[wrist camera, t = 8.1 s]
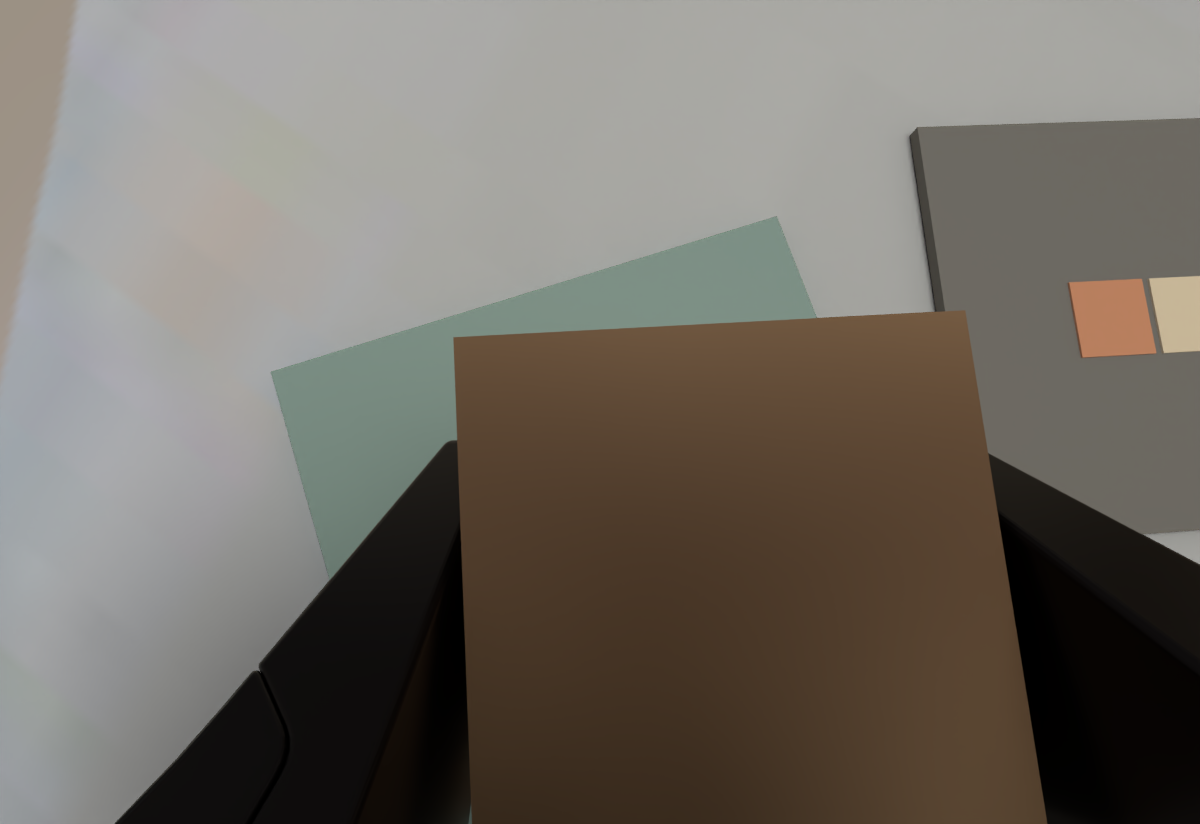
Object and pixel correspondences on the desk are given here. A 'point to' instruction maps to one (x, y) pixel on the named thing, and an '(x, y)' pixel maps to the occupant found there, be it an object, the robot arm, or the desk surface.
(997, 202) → the tile
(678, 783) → the walnut block
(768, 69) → the desk surface
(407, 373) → the teal pad
